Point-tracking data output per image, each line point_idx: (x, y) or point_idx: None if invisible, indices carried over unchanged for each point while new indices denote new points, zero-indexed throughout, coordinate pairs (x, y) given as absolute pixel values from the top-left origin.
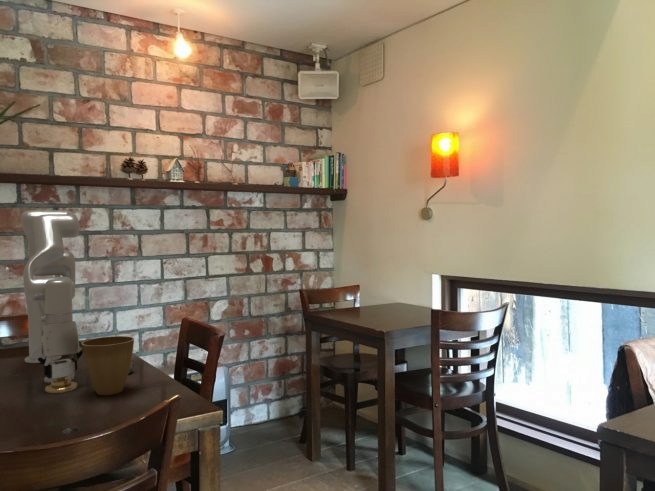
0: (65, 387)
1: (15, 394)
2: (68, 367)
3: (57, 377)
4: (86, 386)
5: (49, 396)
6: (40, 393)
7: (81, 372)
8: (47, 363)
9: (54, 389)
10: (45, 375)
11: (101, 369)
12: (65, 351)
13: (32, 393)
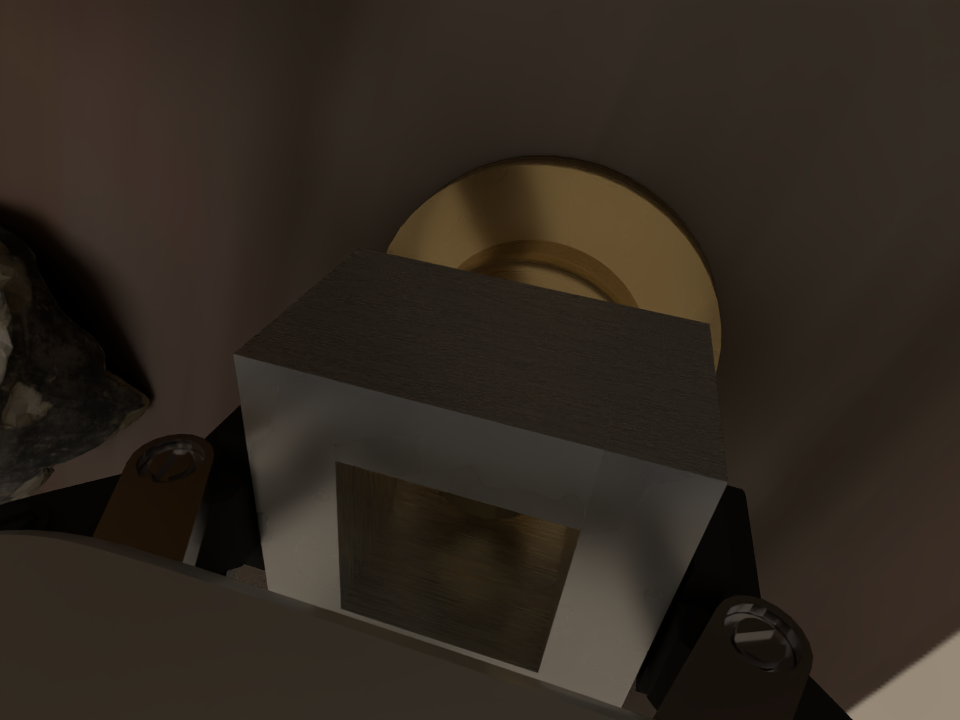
0: (536, 232)
1: (940, 542)
2: (400, 336)
3: (628, 307)
4: (315, 183)
5: (807, 143)
6: (776, 363)
7: (254, 581)
8: (729, 643)
9: (668, 266)
10: (732, 488)
11: None
12: (235, 694)
13: (823, 434)
